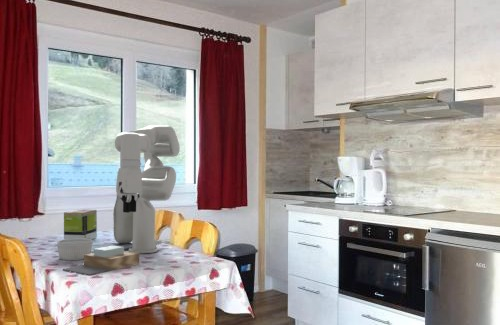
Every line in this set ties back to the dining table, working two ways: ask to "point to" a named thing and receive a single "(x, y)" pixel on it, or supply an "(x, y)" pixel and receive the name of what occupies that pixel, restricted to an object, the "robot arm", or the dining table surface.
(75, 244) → the ramekin
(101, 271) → the mat
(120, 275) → the dining table surface
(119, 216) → the grey bottle
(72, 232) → the tea box
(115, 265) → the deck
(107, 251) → the grey-green rectangular block
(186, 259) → the dining table surface
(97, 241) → the dining table surface
